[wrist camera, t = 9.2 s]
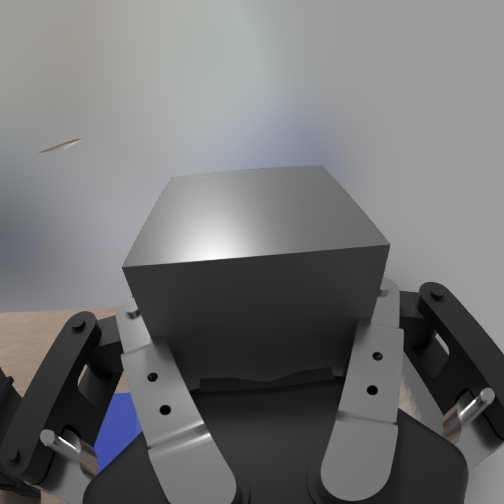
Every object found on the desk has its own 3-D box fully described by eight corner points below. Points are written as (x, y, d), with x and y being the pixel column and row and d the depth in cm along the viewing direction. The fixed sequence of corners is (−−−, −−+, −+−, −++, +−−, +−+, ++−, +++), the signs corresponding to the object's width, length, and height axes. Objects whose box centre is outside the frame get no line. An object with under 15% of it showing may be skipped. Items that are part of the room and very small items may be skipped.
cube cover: (332, 426, 12) (390, 244, 6) (204, 437, 11) (121, 266, 6) (310, 335, 17) (322, 165, 11) (208, 344, 16) (171, 177, 11)
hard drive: (72, 394, 23) (65, 503, 13) (142, 389, 24) (149, 511, 14) (79, 401, 24) (75, 506, 14) (147, 397, 25) (156, 513, 15)
